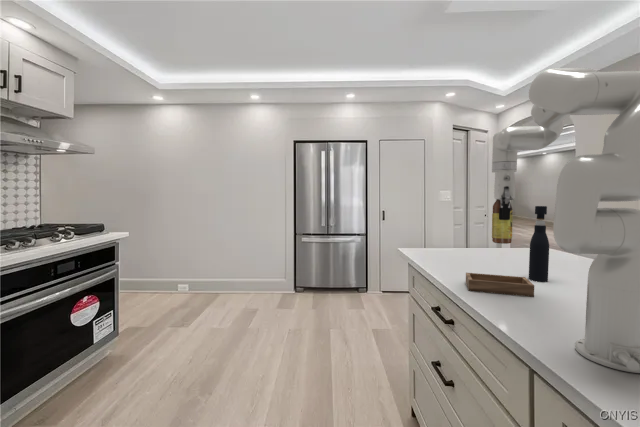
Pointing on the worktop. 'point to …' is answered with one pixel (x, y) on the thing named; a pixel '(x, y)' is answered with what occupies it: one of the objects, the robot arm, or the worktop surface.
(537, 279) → the wine bottle
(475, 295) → the worktop surface
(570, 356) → the worktop surface
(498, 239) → the sauce bottle
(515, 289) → the bottle tray
